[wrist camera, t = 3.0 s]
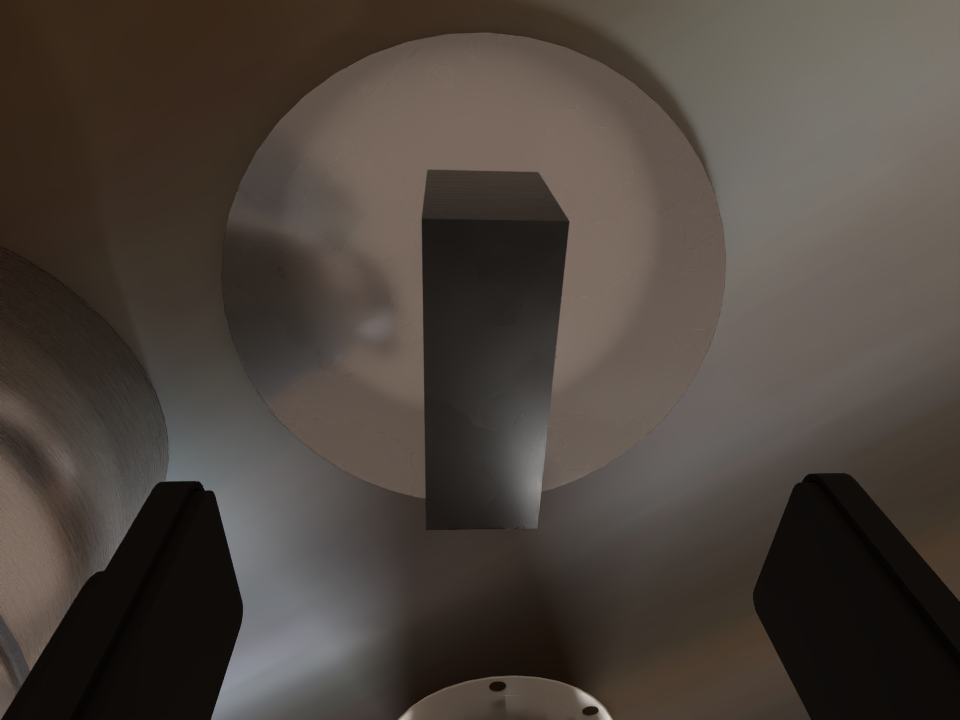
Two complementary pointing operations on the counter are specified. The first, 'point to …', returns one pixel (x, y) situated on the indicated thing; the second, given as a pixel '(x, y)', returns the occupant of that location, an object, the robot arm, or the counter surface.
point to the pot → (63, 456)
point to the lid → (473, 271)
